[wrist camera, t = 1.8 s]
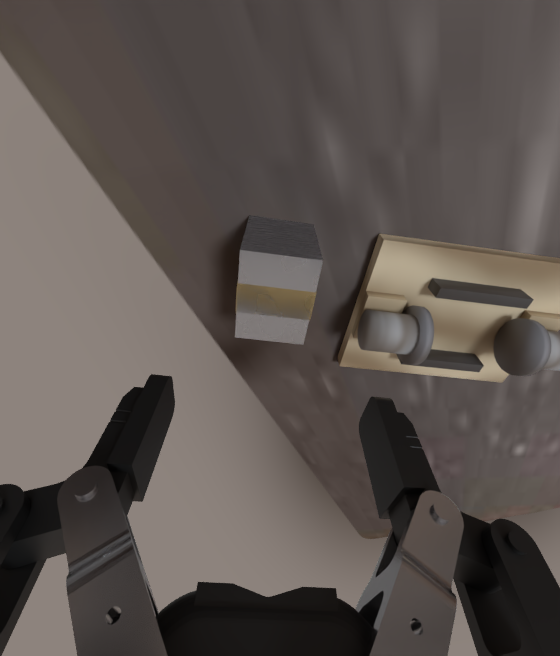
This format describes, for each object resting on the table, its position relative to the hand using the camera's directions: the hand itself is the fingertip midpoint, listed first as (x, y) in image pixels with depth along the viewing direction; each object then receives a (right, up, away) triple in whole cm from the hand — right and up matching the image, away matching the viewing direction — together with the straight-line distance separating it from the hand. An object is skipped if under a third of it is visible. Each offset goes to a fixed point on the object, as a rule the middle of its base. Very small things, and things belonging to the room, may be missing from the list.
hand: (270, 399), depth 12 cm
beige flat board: (+15, +4, +13) cm, 20 cm away
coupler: (0, +8, +10) cm, 13 cm away
